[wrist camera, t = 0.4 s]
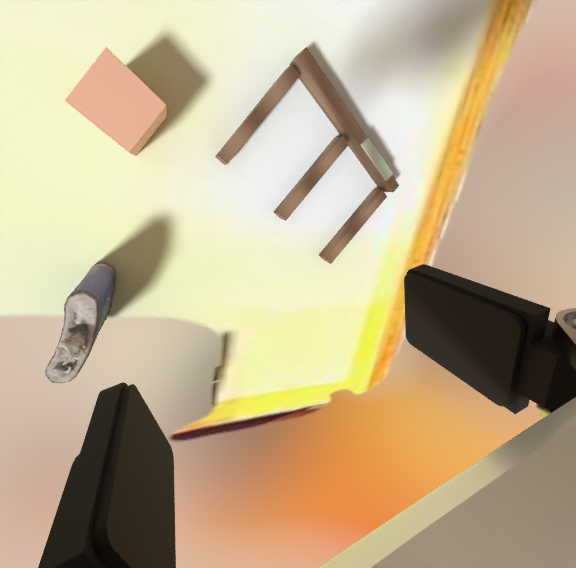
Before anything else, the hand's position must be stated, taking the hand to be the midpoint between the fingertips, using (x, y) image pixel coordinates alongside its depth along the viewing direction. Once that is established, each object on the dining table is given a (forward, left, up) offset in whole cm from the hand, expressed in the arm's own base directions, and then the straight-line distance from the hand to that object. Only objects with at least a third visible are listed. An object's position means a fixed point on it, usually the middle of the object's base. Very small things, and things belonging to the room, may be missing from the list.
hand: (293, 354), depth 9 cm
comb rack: (-13, +6, -28) cm, 31 cm away
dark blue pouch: (+14, -4, -28) cm, 32 cm away
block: (-4, -12, -28) cm, 30 cm away
